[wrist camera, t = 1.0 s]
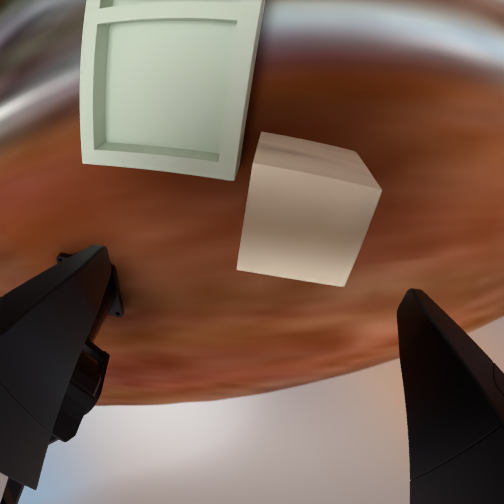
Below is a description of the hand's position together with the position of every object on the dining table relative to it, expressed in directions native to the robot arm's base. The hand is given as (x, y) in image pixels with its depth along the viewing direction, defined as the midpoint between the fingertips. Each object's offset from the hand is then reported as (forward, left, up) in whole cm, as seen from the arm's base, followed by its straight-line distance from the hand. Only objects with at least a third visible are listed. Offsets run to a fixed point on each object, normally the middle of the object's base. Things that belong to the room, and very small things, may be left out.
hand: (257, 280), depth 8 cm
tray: (+8, +7, -12) cm, 16 cm away
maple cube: (-2, -2, -12) cm, 13 cm away
